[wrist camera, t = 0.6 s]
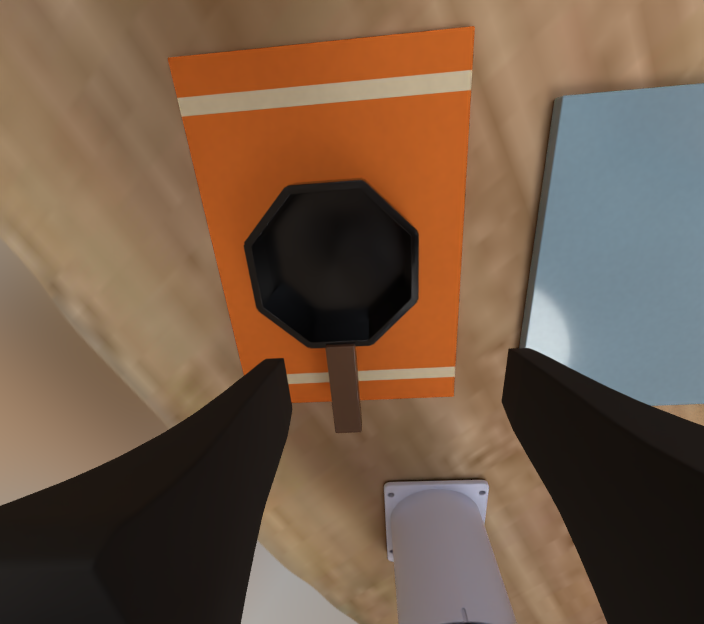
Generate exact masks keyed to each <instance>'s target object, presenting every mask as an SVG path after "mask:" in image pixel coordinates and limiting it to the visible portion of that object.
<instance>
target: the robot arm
mask: <svg viewBox="0 0 704 624" xmlns="http://www.w3.org/2000/svg"><path fill="white" fill-rule="evenodd" d="M502 404H503V406H504V409H505V411H506V414H507V417H508V419H509V421H510V424H511V426H512V429H513V431H514V432H515V434H516V436H517V438H518V440H519V441H520V443H521V445H522V447H523V448H524V450H525V452H526V454H527V455H528V457H529V459H530V461H531V462H532V464H533V466H534V468H535V469H536V471H537V473H538V474H539V476H540V478H541V480H542V481H543V483H544V485H545V486H546V488H547V490H548V492H549V493H550V495H551V497H552V499H553V501H554V503H555V504H556V506H557V508H558V510H559V512H560V514H561V516H562V518H563V521H564V523H565V525H566V527H567V529H568V532H569V534H570V536H571V538H572V540H573V543H574V545H575V547H576V549H577V551H578V554H579V556H580V558H581V561H582V563H583V565H584V568H585V570H586V572H587V575H588V577H589V579H590V582H591V584H592V586H593V589H594V591H595V593H596V596H597V598H598V601H599V603H600V606H601V608H602V611H603V613H604V616H605V619H606V621H607V624H704V426H702V425H699V424H697V423H694V422H691V421H688V420H686V419H683V418H680V417H678V416H675V415H673V414H670V413H668V412H665V411H662V410H660V409H657V408H655V407H652V406H650V405H647V404H645V403H643V402H640V401H638V400H636V399H633V398H631V397H629V396H627V395H625V394H623V393H620V392H618V391H616V390H614V389H612V388H609V387H607V386H605V385H603V384H601V383H599V382H597V381H595V380H593V379H591V378H589V377H587V376H585V375H583V374H581V373H579V372H577V371H575V370H573V369H571V368H569V367H567V366H566V365H564V364H562V363H560V362H558V361H556V360H554V359H552V358H550V357H548V356H546V355H544V354H542V353H540V352H538V351H535V350H533V349H530V348H513V349H509V351H508V358H507V366H506V373H505V381H504V388H503V396H502ZM291 414H292V403H291V397H290V391H289V385H288V379H287V373H286V368H285V362H284V358H271V359H265V360H263V361H262V362H260V363H259V364H258V365H257V366H255V367H254V368H253V369H252V370H250V371H249V372H248V373H247V374H245V375H244V376H243V377H242V378H241V379H239V380H238V381H237V382H236V383H234V384H233V385H232V386H231V387H229V388H228V389H227V390H226V391H224V392H223V393H222V394H220V395H219V396H218V397H216V398H215V399H214V400H212V401H211V402H209V403H208V404H207V405H205V406H204V407H203V408H201V409H200V410H199V411H197V412H196V413H194V414H193V415H191V416H190V417H188V418H187V419H185V420H184V421H182V422H180V423H179V424H177V425H176V426H174V427H172V428H171V429H169V430H167V431H166V432H164V433H162V434H161V435H159V436H157V437H155V438H153V439H151V440H150V441H148V442H146V443H144V444H142V445H140V446H138V447H137V448H135V449H133V450H131V451H129V452H127V453H125V454H123V455H121V456H119V457H118V458H115V459H113V460H111V461H109V462H107V463H104V464H102V465H101V466H98V467H96V468H94V469H91V470H89V471H87V472H85V473H82V474H80V475H78V476H76V477H74V478H71V479H68V480H66V481H64V482H61V483H59V484H56V485H54V486H51V487H49V488H46V489H43V490H41V491H38V492H35V493H33V494H30V495H28V496H25V497H23V498H20V499H17V500H15V501H12V502H10V503H7V504H4V505H2V506H0V624H241V619H242V613H243V607H244V602H245V596H246V592H247V587H248V582H249V576H250V571H251V566H252V562H253V557H254V551H255V547H256V543H257V538H258V534H259V529H260V525H261V520H262V516H263V512H264V509H265V505H266V501H267V498H268V495H269V492H270V489H271V486H272V483H273V480H274V477H275V474H276V471H277V468H278V465H279V461H280V458H281V455H282V452H283V449H284V446H285V443H286V439H287V436H288V431H289V426H290V420H291ZM488 492H489V485H488V483H487V481H485V480H447V481H408V482H388V483H386V484H385V485H384V497H385V517H386V537H387V556H388V560H389V561H391V562H394V571H395V584H396V597H397V610H398V623H399V624H517V622H516V619H515V616H514V613H513V610H512V607H511V604H510V601H509V598H508V595H507V592H506V589H505V586H504V583H503V580H502V577H501V574H500V571H499V568H498V565H497V562H496V559H495V556H494V553H493V550H492V547H491V544H490V541H489V538H488V535H487V532H486V529H485V526H484V524H485V516H486V508H487V500H488Z"/></svg>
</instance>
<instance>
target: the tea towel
mask: <svg viewBox="0 0 704 624" xmlns="http://www.w3.org/2000/svg"><path fill="white" fill-rule="evenodd" d="M474 29H475V27H474V26H472V27H462V28H453V29H443V30H433V31H423V32H414V33H404V34H394V35H384V36H375V37H365V38H355V39H345V40H336V41H326V42H316V43H306V44H297V45H287V46H277V47H267V48H258V49H248V50H238V51H228V52H219V53H209V54H199V55H189V56H180V57H170V58H168V62H169V66H170V70H171V74H172V78H173V82H174V86H175V91H176V95H177V100H178V104H179V108H180V112H181V116H182V120H183V124H184V128H185V132H186V136H187V140H188V145H189V149H190V153H191V157H192V161H193V165H194V170H195V174H196V178H197V182H198V186H199V190H200V195H201V199H202V203H203V207H204V211H205V215H206V219H207V224H208V228H209V232H210V236H211V240H212V244H213V249H214V253H215V257H216V261H217V265H218V269H219V274H220V278H221V282H222V286H223V290H224V294H225V298H226V303H227V307H228V311H229V315H230V319H231V323H232V328H233V332H234V336H235V340H236V344H237V348H238V353H239V357H240V361H241V365H242V369H243V373H244V375H245V374H247V373H248V372H249V371H250V370H252V369H253V368H254V367H255V366H257V365H258V364H259V363H260V362H262V361H263V360H265V359H271V358H284V362H285V368H286V373H287V379H288V385H289V391H290V397H291V403H301V402H327V401H332V399H331V390H330V382H329V374H328V366H327V357H326V349H325V348H315V349H310V347H309V348H307V347H306V346H305V345H303V344H302V343H300V342H299V341H298V340H296V339H295V338H294V337H292V336H291V335H290V334H288V333H287V332H286V331H284V330H283V329H281V328H280V327H279V326H277V325H276V324H275V323H273V322H272V321H271V320H269V319H268V318H267V317H265V316H264V315H263V314H261V313H260V312H258V309H256V305H255V300H254V295H253V290H252V285H251V280H250V275H249V271H248V266H247V261H246V256H245V251H244V246H243V245H244V242H245V240H246V239H247V238H248V236H249V235H250V234H251V232H252V231H253V229H254V228H255V227H256V225H257V224H258V223H259V221H260V220H261V219H262V217H263V216H264V214H265V213H266V212H267V210H268V209H269V208H270V206H271V205H272V203H273V202H274V201H275V199H276V198H277V197H278V195H279V194H280V192H281V191H282V190H283V188H284V187H286V186H287V185H291V184H294V183H300V182H312V181H325V180H338V179H351V178H362V179H365V180H366V181H367V182H368V183H370V184H371V185H372V186H373V187H374V188H375V189H376V190H377V191H378V192H379V193H380V194H381V195H382V196H383V197H384V198H386V199H387V200H388V201H389V202H390V203H391V204H392V205H393V206H394V207H395V208H396V209H397V210H398V211H399V212H400V213H401V214H403V215H404V216H405V217H406V218H407V219H408V220H409V221H410V222H411V223H412V224H413V225H414V227H415V228H416V229H417V230H418V233H419V299H418V300H417V301H418V302H417V303H416V304H415V305H414V306H413V307H412V308H411V309H410V310H409V311H408V312H407V313H406V314H405V315H404V316H402V317H401V318H400V319H399V320H398V321H397V322H396V323H395V324H394V325H393V326H392V327H391V328H390V329H389V330H388V331H387V332H386V333H385V334H384V335H383V336H382V337H381V338H380V339H379V340H378V341H377V342H376V343H375V344H374V345H371V346H356V352H357V365H358V378H359V390H360V400H377V399H402V398H427V397H452V396H454V379H455V361H456V344H457V326H458V309H459V291H460V274H461V256H462V239H463V221H464V204H465V187H466V169H467V152H468V134H469V117H470V99H471V84H472V64H473V47H474Z"/></svg>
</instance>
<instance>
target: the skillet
mask: <svg viewBox="0 0 704 624" xmlns="http://www.w3.org/2000/svg"><path fill="white" fill-rule="evenodd" d="M243 246H244V251H245V256H246V261H247V266H248V271H249V275H250V280H251V285H252V290H253V295H254V300H255V305H256V309H258V312H260V313H261V314H263V315H264V316H265V317H267V318H268V319H269V320H271V321H272V322H273V323H275V324H276V325H277V326H279V327H280V328H281V329H283V330H284V331H286V332H287V333H288V334H290V335H291V336H292V337H294V338H295V339H296V340H298V341H299V342H300V343H302V344H303V345H305V346H306V347H307V348H309V347H310V349H315V348H325V349H326V357H327V366H328V374H329V382H330V390H331V399H332V407H333V415H334V423H335V432H336V433H352V432H361V431H362V415H361V403H360V390H359V378H358V365H357V352H356V346H371V345H374V344H375V343H376V342H377V341H378V340H379V339H380V338H381V337H382V336H383V335H384V334H385V333H386V332H387V331H388V330H389V329H390V328H391V327H392V326H393V325H394V324H395V323H396V322H397V321H398V320H399V319H400V318H401V317H402V316H404V315H405V314H406V313H407V312H408V311H409V310H410V309H411V308H412V307H413V306H414V305H415V304H416V303H417V302H418V301H417V300H418V299H419V233H418V230H417V229H416V228H415V227H414V225H413V224H412V223H411V222H410V221H409V220H408V219H407V218H406V217H405V216H404V215H403V214H401V213H400V212H399V211H398V210H397V209H396V208H395V207H394V206H393V205H392V204H391V203H390V202H389V201H388V200H387V199H386V198H384V197H383V196H382V195H381V194H380V193H379V192H378V191H377V190H376V189H375V188H374V187H373V186H372V185H371V184H370V183H368V182H367V181H366V180H365V179H362V178H351V179H338V180H325V181H312V182H300V183H294V184H291V185H287V186H286V187H284V188H283V190H282V191H281V192H280V194H279V195H278V197H277V198H276V199H275V201H274V202H273V203H272V205H271V206H270V208H269V209H268V210H267V212H266V213H265V214H264V216H263V217H262V219H261V220H260V221H259V223H258V224H257V225H256V227H255V228H254V229H253V231H252V232H251V234H250V235H249V236H248V238H247V239H246V240H245V242H244V245H243Z"/></svg>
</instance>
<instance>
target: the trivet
mask: <svg viewBox="0 0 704 624" xmlns="http://www.w3.org/2000/svg"><path fill="white" fill-rule="evenodd" d="M519 348H530V349H533V350H535V351H538V352H540V353H542V354H544V355H546V356H548V357H550V358H552V359H554V360H556V361H558V362H560V363H562V364H564V365H566V366H567V367H569V368H571V369H573V370H575V371H577V372H579V373H581V374H583V375H585V376H587V377H589V378H591V379H593V380H595V381H597V382H599V383H601V384H603V385H605V386H607V387H609V388H612V389H614V390H616V391H618V392H620V393H623V394H625V395H627V396H629V397H631V398H633V399H636V400H638V401H640V402H643V403H645V404H647V405H650V406H658V405H685V404H704V83H698V84H687V85H676V86H665V87H653V88H642V89H631V90H620V91H609V92H597V93H586V94H575V95H564V96H561V97H558V98H556V99H555V100H554V107H553V114H552V121H551V128H550V135H549V142H548V149H547V156H546V163H545V170H544V177H543V184H542V191H541V198H540V205H539V212H538V219H537V226H536V233H535V240H534V247H533V254H532V261H531V268H530V275H529V282H528V289H527V296H526V303H525V310H524V317H523V324H522V331H521V338H520V345H519Z"/></svg>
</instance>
